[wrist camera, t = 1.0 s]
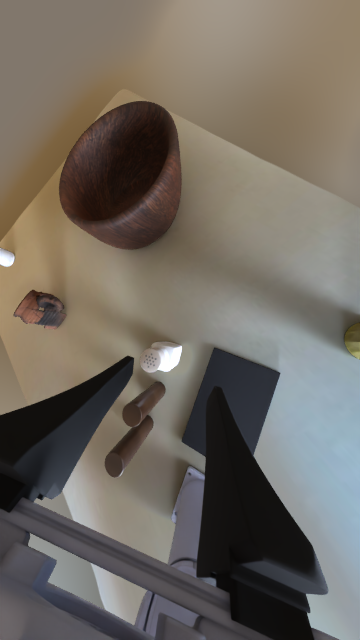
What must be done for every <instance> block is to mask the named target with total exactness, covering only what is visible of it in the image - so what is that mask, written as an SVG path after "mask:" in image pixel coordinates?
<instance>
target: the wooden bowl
mask: <svg viewBox="0 0 360 640" xmlns="http://www.w3.org/2000/svg"><path fill="white" fill-rule="evenodd" d="M59 195H60V202H61V205H62V208H63V210H64V212H65V214H66V215H67V216H68V218H69V219H70V220H71V221H72V222H73V223H74V224H76V225H77V226H78V227H80V228H81V229H83V230H84V231H86V232H87V233H89V234H91V235H92V236H94V237H95V238H97V239H99V240H100V241H102V242H104V243H106V244H109V245H111V246H114V247H117V248H121V249H139V248H142V247H145V246H147V245H149V244H151V243H153V242H154V241H156V240H157V239H159V238H160V237H161V236H162V235H163V234H164V233H165V232H166V231H167V229H168V228H169V227H170V225H171V224H172V222H173V220H174V218H175V216H176V213H177V210H178V206H179V202H180V196H181V162H180V150H179V141H178V134H177V129H176V126H175V124H174V121H173V119H172V117H171V115H170V114H169V113H168V111H167V110H165V109H164V108H163V107H161V106H160V105H158V104H155V103H152V102H147V101H136V102H131V103H127V104H124V105H121V106H119V107H116V108H114V109H112V110H111V111H109V112H107V113H106V114H104V115H103V116H101V117H100V118H99V119H98V120H96V121H95V122H94V123H93V124H92V125H91V126H90V127H89V128H88V129H87V130H86V131H85V132H84V133H83V134H82V136H81V137H80V138H79V139H78V141H77V142H76V144H75V145H74V146H73V148H72V150H71V151H70V153H69V155H68V157H67V159H66V162H65V164H64V167H63V170H62V173H61V178H60V184H59Z"/></svg>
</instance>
